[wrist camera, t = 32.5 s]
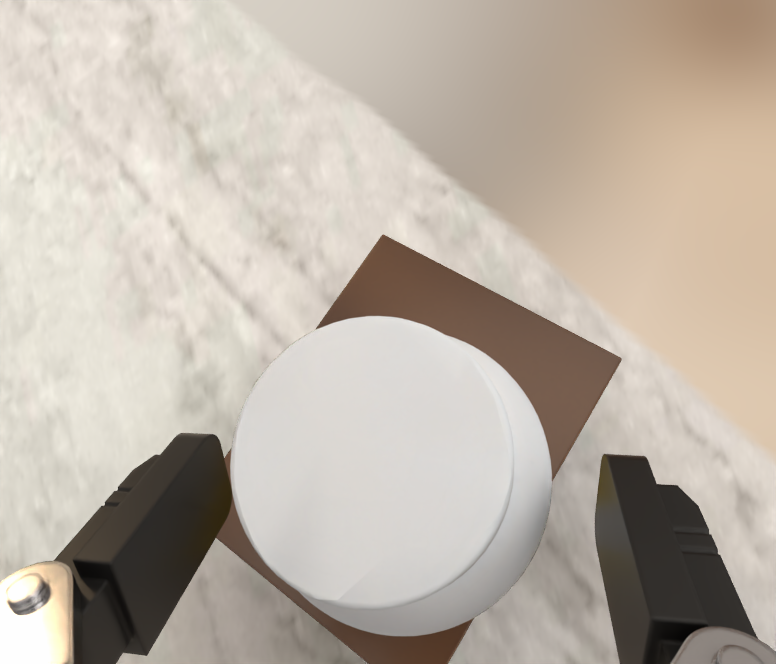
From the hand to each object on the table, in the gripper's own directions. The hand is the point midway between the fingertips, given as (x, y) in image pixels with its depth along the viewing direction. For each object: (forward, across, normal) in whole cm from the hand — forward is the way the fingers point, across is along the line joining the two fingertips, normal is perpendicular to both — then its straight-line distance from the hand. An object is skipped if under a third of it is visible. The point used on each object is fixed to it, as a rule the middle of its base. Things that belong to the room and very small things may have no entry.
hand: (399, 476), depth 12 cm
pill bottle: (+6, 0, +6) cm, 9 cm away
